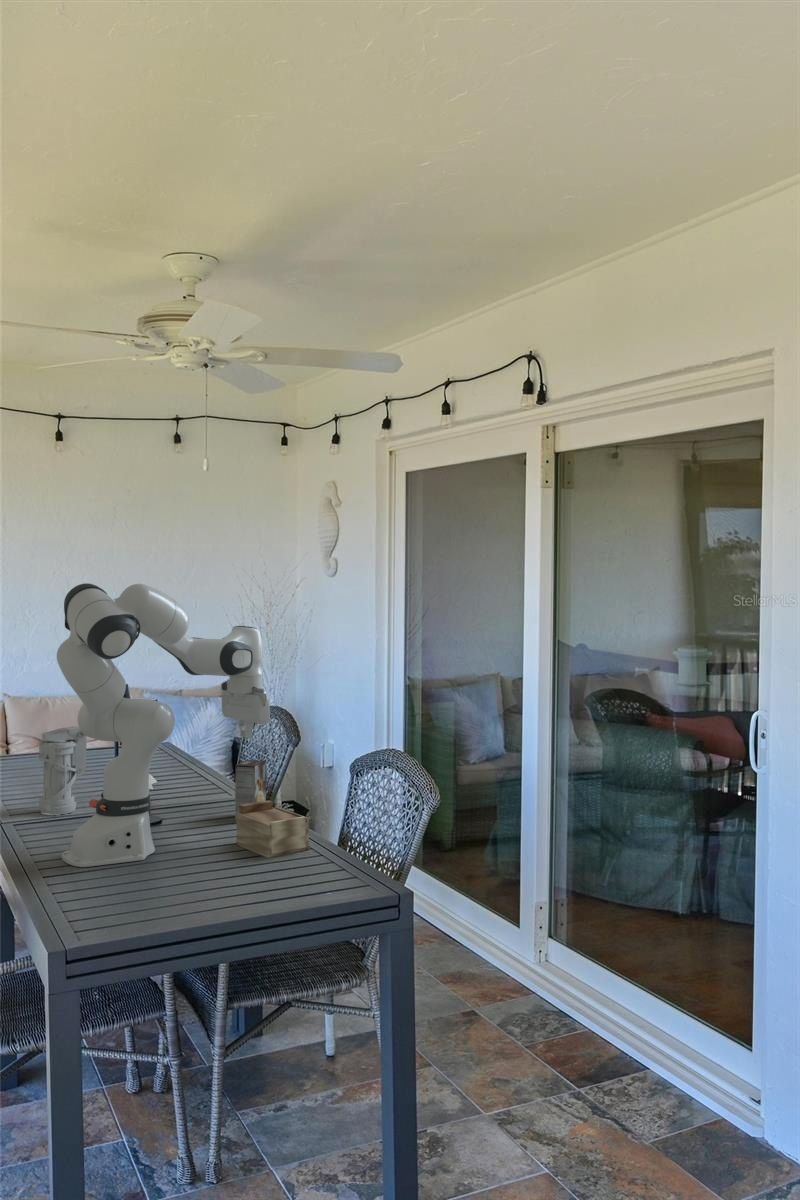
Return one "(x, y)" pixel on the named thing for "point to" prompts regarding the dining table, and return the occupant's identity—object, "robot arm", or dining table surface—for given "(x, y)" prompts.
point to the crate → (273, 835)
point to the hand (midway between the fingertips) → (245, 737)
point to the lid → (264, 812)
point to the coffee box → (250, 783)
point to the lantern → (61, 767)
